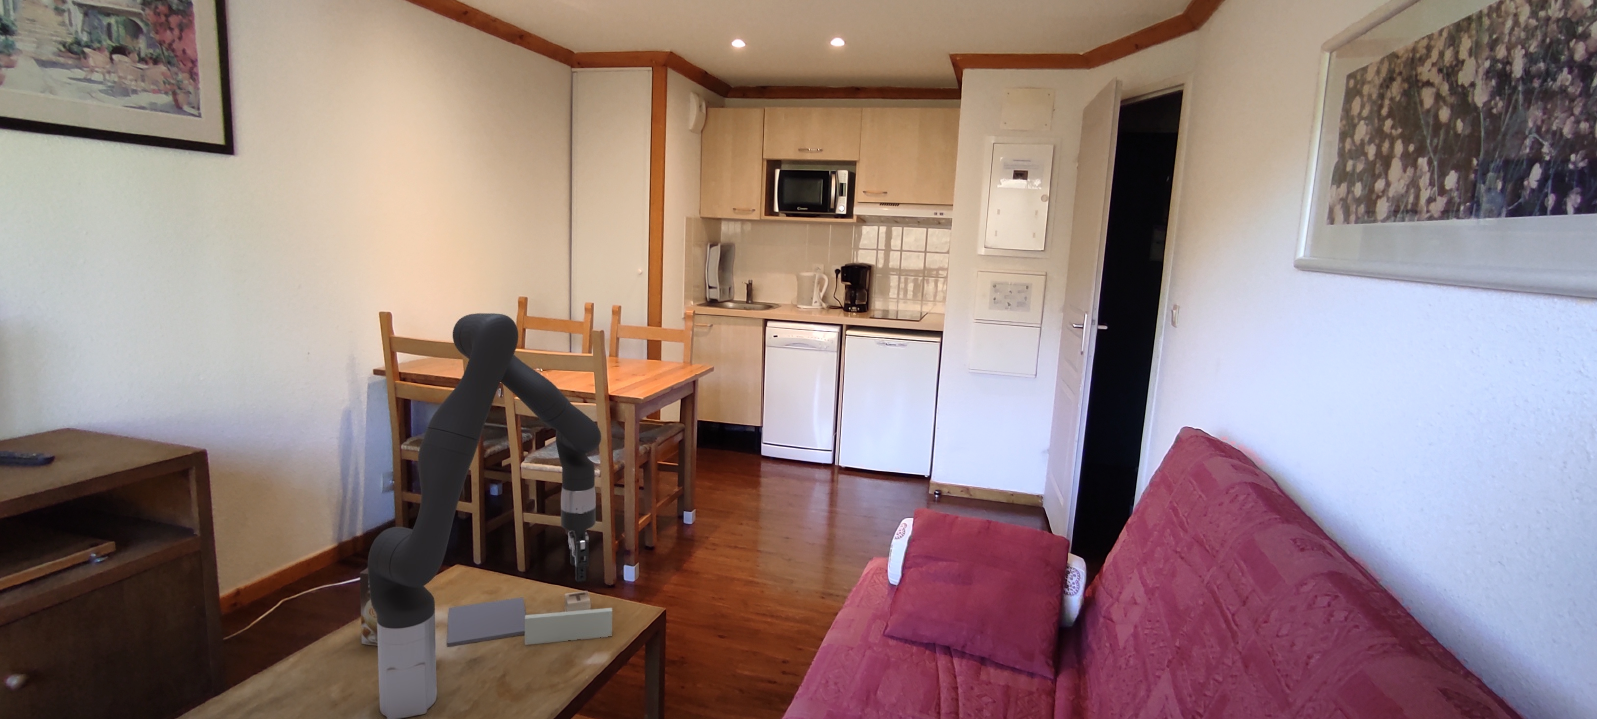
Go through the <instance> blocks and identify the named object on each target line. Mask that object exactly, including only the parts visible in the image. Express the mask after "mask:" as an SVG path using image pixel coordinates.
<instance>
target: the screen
mask: <svg viewBox="0 0 1597 719" xmlns="http://www.w3.org/2000/svg"><path fill="white" fill-rule="evenodd" d="M608 636H613V607H605V608H595V609H594V608H593V609H591V610H580V611H569V612H565V611H559V612H558V611H557V612H549V613H547V612H546V613H536V614H526V615H525V634H524V645H525V646H527V645H536V644H537V645H538V644H548V643H560V642H568V640H571V641H578V640H577V639H581V640H589V639H591V640H592V639H601V638H609V637H608ZM600 637H601V638H600Z"/></svg>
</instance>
